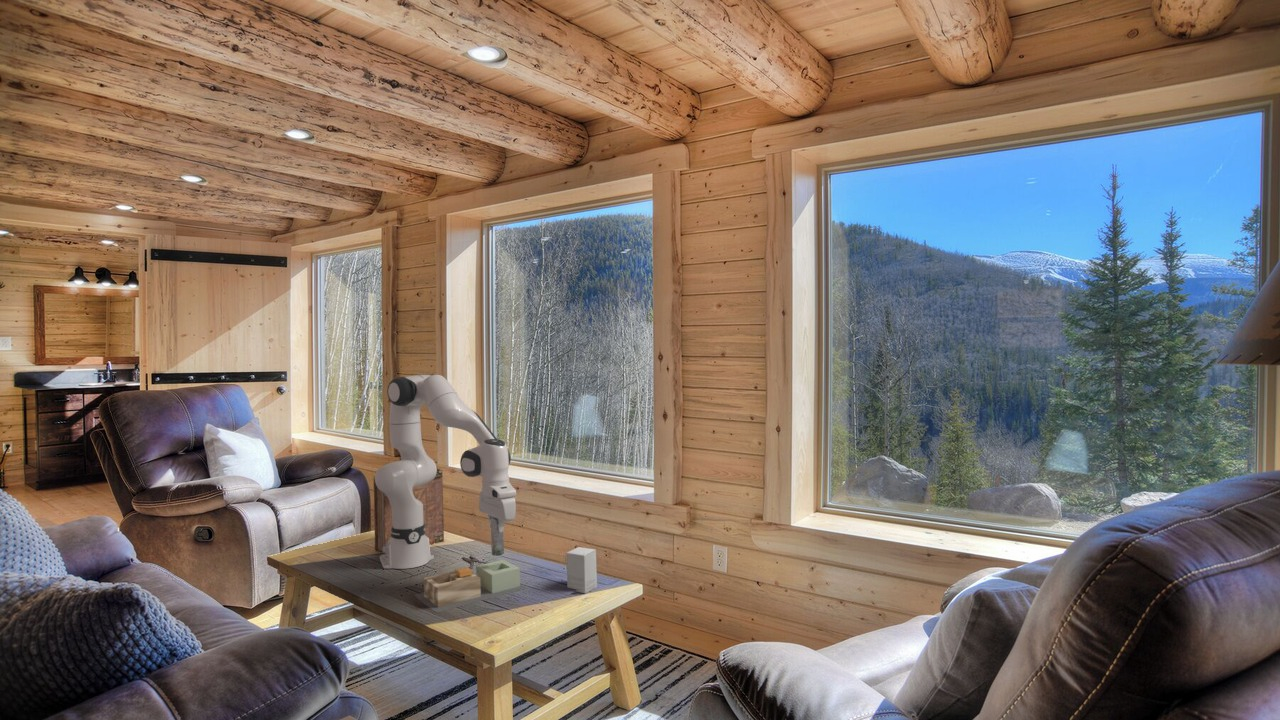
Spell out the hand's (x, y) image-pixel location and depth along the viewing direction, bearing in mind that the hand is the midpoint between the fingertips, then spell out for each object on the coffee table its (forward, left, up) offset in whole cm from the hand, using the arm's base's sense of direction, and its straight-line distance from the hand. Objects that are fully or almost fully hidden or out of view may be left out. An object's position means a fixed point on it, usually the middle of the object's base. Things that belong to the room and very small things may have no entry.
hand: (497, 529), depth 226 cm
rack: (0, 0, -19) cm, 19 cm away
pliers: (-28, +4, -20) cm, 35 cm away
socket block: (0, -16, -19) cm, 24 cm away
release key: (0, -12, -16) cm, 20 cm away
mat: (0, -10, -20) cm, 22 cm away
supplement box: (+19, +21, -20) cm, 34 cm away
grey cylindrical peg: (0, 0, -8) cm, 8 cm away
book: (-68, -6, -20) cm, 71 cm away
